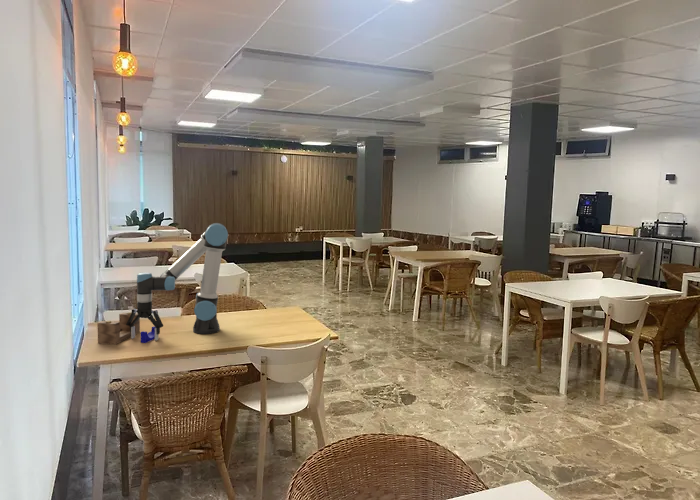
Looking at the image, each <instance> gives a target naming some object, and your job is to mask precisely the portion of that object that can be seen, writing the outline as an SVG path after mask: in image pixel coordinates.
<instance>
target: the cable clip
mask: <svg viewBox="0 0 700 500" xmlns="http://www.w3.org/2000/svg"><path fill="white" fill-rule="evenodd" d="M155 328H156V327H155V326H154V325H152V327H151V331H149V332H148V331H145V330H143V331H140V343H143V344H147V343H149V342H151V341H153V340H155Z"/></svg>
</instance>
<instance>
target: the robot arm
mask: <svg viewBox="0 0 700 500" xmlns="http://www.w3.org/2000/svg"><path fill="white" fill-rule="evenodd" d="M228 236H229V232H228V229H227V227H226V226H225V224H223V223H221V222H213V223H211V224H209V225H208V227H206V230H205V231H204V232H203V233H202V234H201V235H200V238H199V239H198V240H197V241H196V242H195V243H194V244H193V245H192V246H191V247H190V248H189V249H188V250H187V251H185V252H184V253H183V254H182V255H181V256H180V257H179V258H178V259H177V260H176V261H174V263H173V264H171V265H170V266H169V267H168V268H167V269H166V270H165V271H164V272H162V274H160V276H153V274H152V272H140V273H137V275H136V301H137V302H136V308H137V309H136V308H133V309H131V312H132V313H131V315H130V317H129V319H128V321H127V323H126V325H128V326H130V332H131V337H130V339H135V338H136V335H135V326H134V324H135V323H136V322H137V321H138V320H139V318H140V319H148V320H149V321H150V322H151V324H152V326H154V327H156V328H155V339H154V341H158V340H159V335H160V334H161V333H160V332H161V328H162V327H164V324H163V322H162V320H161V317H160V316H159V312H158V310H157V309H156V310H153V309H152V308H153V291H173V290H175V288H176V280H178V279H179V278H180V276H182V275H183V274H184V273H185V272H186V271H187V270H188V269H189V268H190V267H191V266H192V265H194V263H196V261H197V260H199V259H200V258H201V257H202V256H203V255H205V258H204V262H203V263H204V264H203V270H202V275H201V277H202V278H201V284H200V291H199V292H197V293H196V295H195V304H194V305H195V306H194V309H193V312H194V315H195V321H194V323H193V326H192V332H193V333H195V334H197V335H198V334H200V335H209V334H215V333H216V334H217V333H218V332H220V329H221V328H220V326H221V325H220V323H219V321H218V315H217V314H218V313H217V312H218V307H217V306H218V301H219V296H218V295H217V288H218V283H219V274H220V268H221V263H222V254H223V251H225V250H226V249H227V248H226V247H227V240H228V238H229V237H228ZM136 313H137V314H138V315H137V317H136V318H135V319H134V320H133V318H134V316H135V314H136ZM132 320H133V322H132ZM131 322H132V323H131Z"/></svg>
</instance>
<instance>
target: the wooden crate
mask: <svg viewBox="0 0 700 500" xmlns="http://www.w3.org/2000/svg"><path fill="white" fill-rule="evenodd" d="M131 313H132V311H131V312H121V313H119V315H118V318H119V321H111V320H107V321H106V320H105V321H104V320H101V321H99V322H97V344H103V345H104V344H105V345H106V344H107V345H117V344H119V343H122V342H124V341H125V340H128V339H129V338H131V332H130V326H128V325H126V323H127V321H128V319H129V317H130V315H131ZM137 315H138V313H137V312H136V314H135V316H134V318H133V320H134V319H135V318H136V317H137ZM133 320H132V322H133ZM132 322H131V323H132ZM140 322H141V317H140V318H139V320H138V321H137V322H136V323H135V324H134V326H135V336H136V335H137V334H141V327H140V326H141V325H140V324H141V323H140Z"/></svg>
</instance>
